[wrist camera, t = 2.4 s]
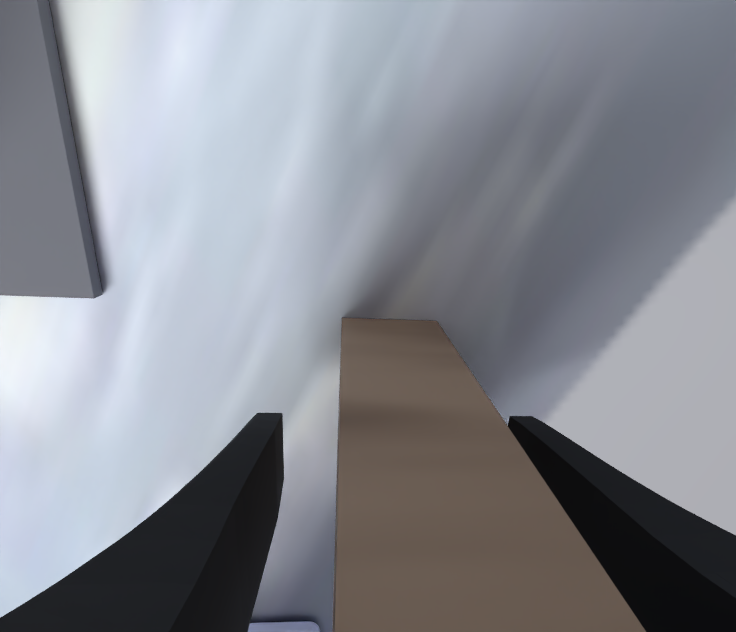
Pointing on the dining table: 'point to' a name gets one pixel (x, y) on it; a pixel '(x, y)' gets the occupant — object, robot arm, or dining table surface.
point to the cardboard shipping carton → (447, 503)
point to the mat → (39, 166)
